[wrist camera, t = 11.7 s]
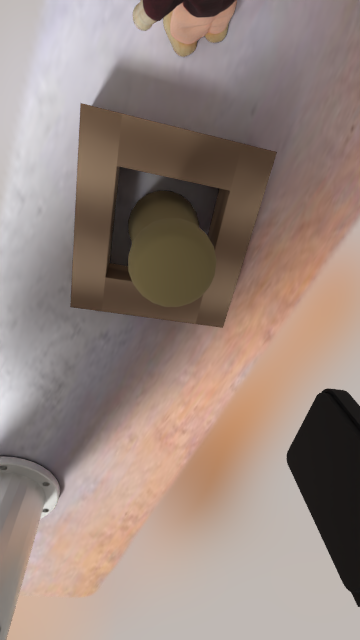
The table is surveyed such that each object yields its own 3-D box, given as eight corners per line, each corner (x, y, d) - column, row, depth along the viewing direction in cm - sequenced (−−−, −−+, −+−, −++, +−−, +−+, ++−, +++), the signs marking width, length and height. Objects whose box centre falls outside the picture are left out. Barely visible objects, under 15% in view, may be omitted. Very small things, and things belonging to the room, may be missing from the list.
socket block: (215, 309, 31) (222, 327, 28) (78, 289, 29) (70, 307, 26) (260, 151, 25) (276, 152, 22) (89, 109, 22) (80, 103, 19)
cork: (196, 185, 25) (227, 209, 16) (201, 258, 28) (230, 315, 19) (121, 195, 25) (107, 225, 16) (134, 266, 28) (129, 329, 19)
